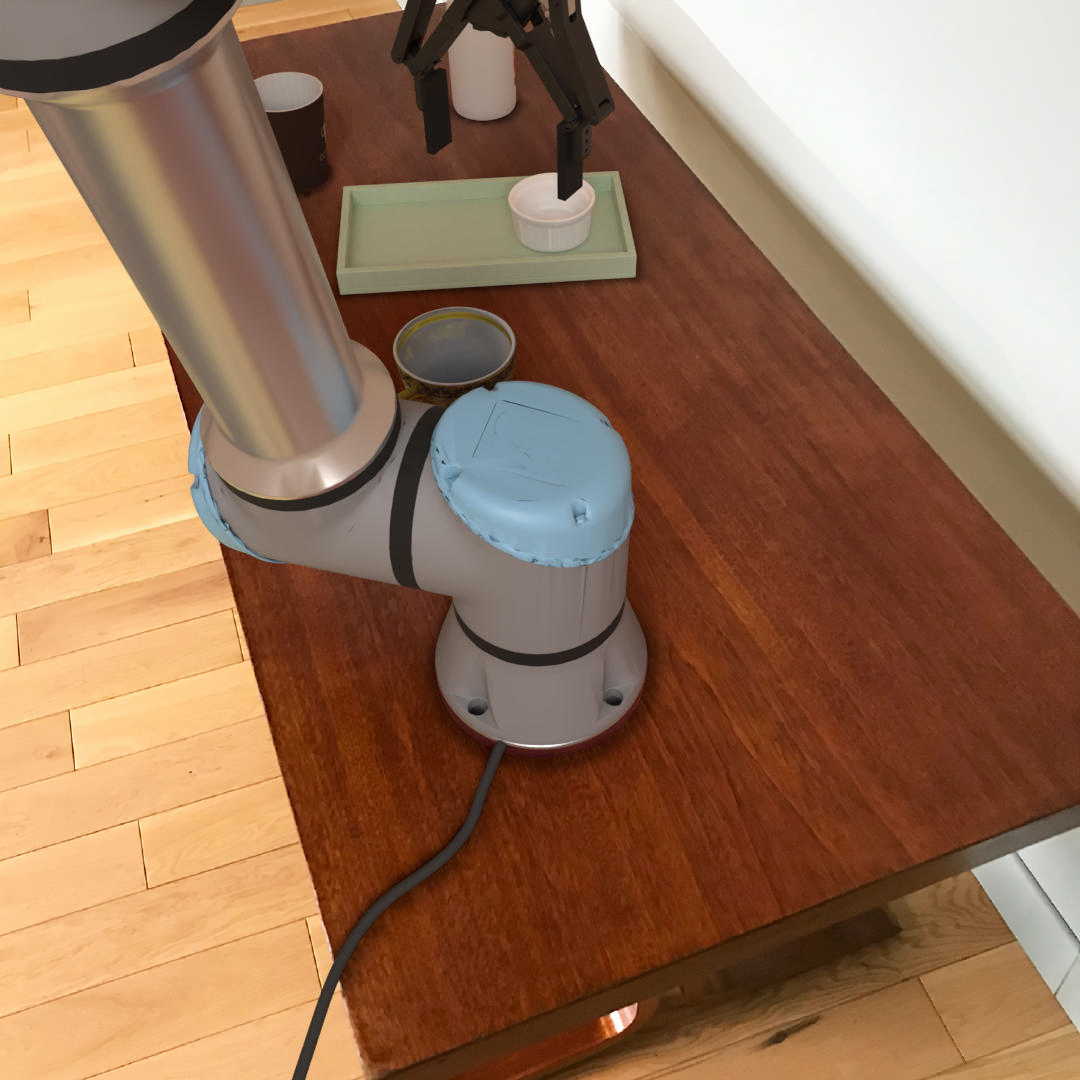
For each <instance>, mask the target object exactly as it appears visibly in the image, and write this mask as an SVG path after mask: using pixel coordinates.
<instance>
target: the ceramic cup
mask: <svg viewBox="0 0 1080 1080" xmlns="http://www.w3.org/2000/svg"><path fill="white" fill-rule="evenodd" d="M393 341H394V342H393V345H392V355H393V359H394V362H395V366H396V368H397V371H398V373H399V377H400V380H401V381H402V384H403V386H404V388H405V389H403V390H402V391H400V392H399V393H398V394H397V395H398V398H399V399H403V400H409V401H415V402H420V403H426V404H432V405H437V406H441V407H447V408H448V407H449V406H450V405H451V404H452V403H453V402H454V401H455V400H457V399H458V398H460V397H461V396H462V395H464V394H466V393H468V392H470V391H471V390H474V389H476V388H480V387H483V388H485V389H486V390H488V391H492V390H493V389H494V387H495V385H496V384H497V383H499V382H506V381H513V376H514V370H515V364H516V353H517V338H516V335H515V332H514V331H513V328H512V327H511V325H509V323H507V322H506V321H505V320H504V319H503V318H501V317H500V316H498V315H496V314H494V313H492V312H489V311H488V310H484V309H481V308H477V307H470V306H469V307H468V306H449V307H442V308H438V309H433V310H430V311H428V312H425V313H422V314H420V315H418V316H416V317H414V318H413V319H411V320H410V321H408V322H407V323H406V324H405V325H404V326H403V327H402V328H401V329H400V330H399V331H398V333H397V335H396V337H395V339H394V340H393Z"/></svg>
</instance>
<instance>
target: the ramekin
mask: <svg viewBox="0 0 1080 1080" xmlns="http://www.w3.org/2000/svg"><path fill="white" fill-rule="evenodd" d="M529 176H530V177H528V178H525V179H523V180H521V181H520V182H518V183H517V184H516V185H515V186H514V187H513V188H512V189H511V191H510V193H509V195H508V203H509V206H510V209H511V213H512V219H513V226H514V231H515V235H516V237H517V239H518V240H519V241H520V242H521V243H522V244H523V245H525V246H526V247H528V248H530V249H533V250H536V251H540V252H548V253H555V252H563V251H567V250H570V249H573V248H575V247H577V246H579V245H580V244H582V243H583V242H584V241H585V240H586V239H587V237H588V235H589V233H590V229H591V220H592V210H593V206H594V203H595V192H594V190H593V188H592V186H591V185H590V184H589V183H588V182H586V181H585V180H583V186H582V187H581V188H580V189H579V190H578V191H577V192H575V193H574V194H573V195H572V196H571V197H570V198H568V199H567V200H566V201H563V200H560V199H557V172H544V173H538V174H534V175H529Z"/></svg>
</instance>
